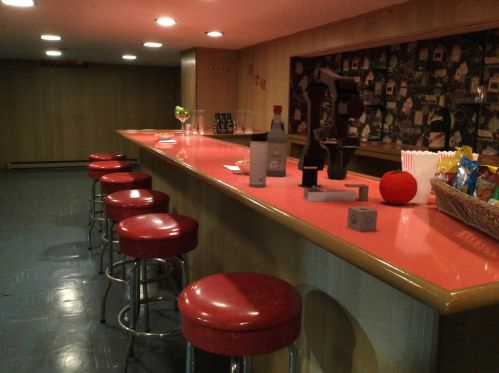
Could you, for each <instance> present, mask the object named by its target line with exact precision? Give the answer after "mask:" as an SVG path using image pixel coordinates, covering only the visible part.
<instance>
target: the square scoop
mask: <svg viewBox="0 0 499 373" xmlns="http://www.w3.org/2000/svg"><path fill="white" fill-rule="evenodd" d="M303 199H304V200H305V201H306V202H308V203H309V202H310V203H311V202H315V203H318V202H319V203H321V202H322V203H323V202H326V201H327V202H331V201H332V202H356V200H357V191H355V190H354V189H321V188H318V192H311V188H304V189H303Z"/></svg>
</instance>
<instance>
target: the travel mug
mask: <svg viewBox="0 0 499 373" xmlns="http://www.w3.org/2000/svg"><path fill="white" fill-rule="evenodd" d="M269 132H270V131H267V132H262V133H253V134H250V144H249V147H250V149H249V151H250V152H249V172H248V174H249V176H248V177H249V178H248V179H249V180H248V181H249V182H248V186H249V187H252V188H265V187H267V176H266V170H267V143H268V141H267V139H268V137H267V135H268V134H269Z"/></svg>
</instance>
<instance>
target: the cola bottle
mask: <svg viewBox="0 0 499 373" xmlns="http://www.w3.org/2000/svg"><path fill="white" fill-rule="evenodd" d="M349 134H351V131H350V129H349ZM328 163H329V164H328V165H327V168H326V174H327V177H328V178H329V179H331V180H337V181H338V180H344V179H346V177H347V174H348V168H347V166H346V168H342V165H341V151H340V150H339V152H338V155H337V158H336V160H335V163H334V165H331V164H330V160H329V159H328Z"/></svg>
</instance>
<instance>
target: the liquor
mask: <svg viewBox="0 0 499 373" xmlns="http://www.w3.org/2000/svg"><path fill="white" fill-rule="evenodd" d="M272 107H273V108H272V112H273V124H272V128H271V129H270V130H269V131H268V132H269V134H268V135H267V137H268V139H267V141H268V143H267V170H266V177H269V178H271V177H273V178H285V177H286V175H287V158H288V137H287V135H286V133H285V132H284V130H283V129H282V125H281V124H282V122H281V121H282V120H281V119H282V113H283V105H280V104H279V105H276V104H273V106H272Z"/></svg>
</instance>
